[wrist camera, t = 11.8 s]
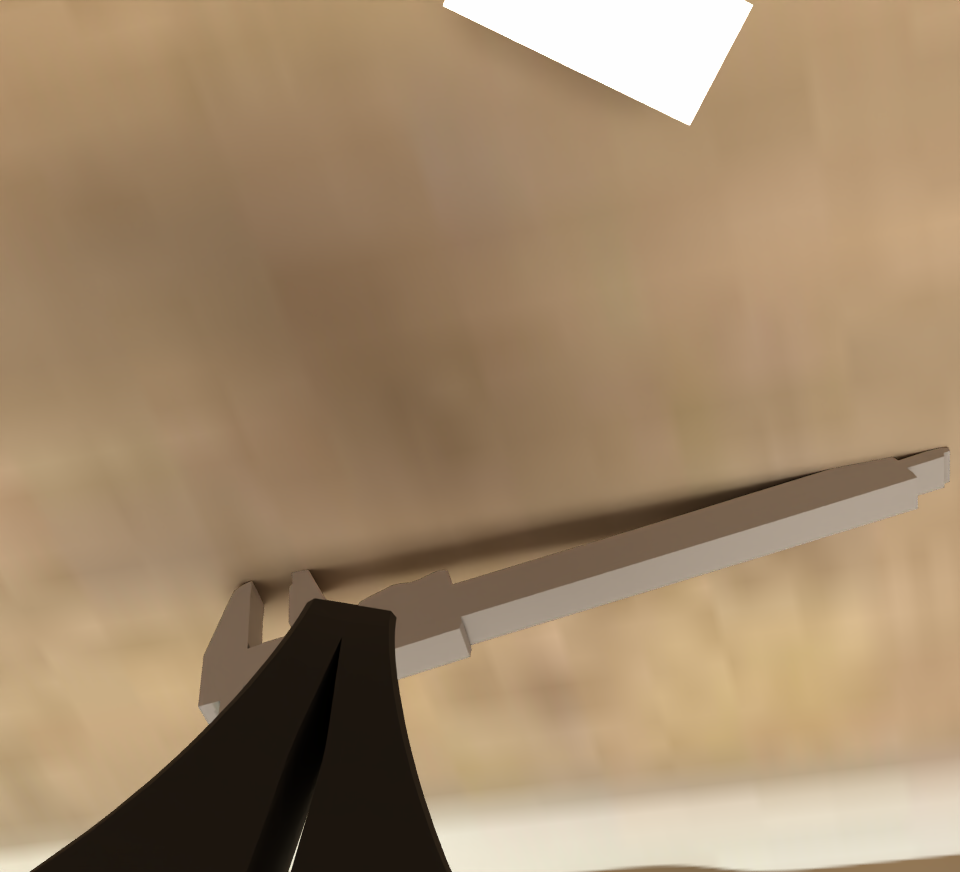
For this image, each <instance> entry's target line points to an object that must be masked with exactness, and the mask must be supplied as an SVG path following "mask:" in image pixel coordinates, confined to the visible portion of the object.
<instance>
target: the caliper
mask: <svg viewBox="0 0 960 872" xmlns="http://www.w3.org/2000/svg"><path fill="white" fill-rule="evenodd" d="M947 482H950V450H949V448H937V449H933V450H929V451H926V452H923V453H920V454H917V455H914V456H910V457H907V458H904V459H901V460H897V459H895V458H894V457H890V458H884V459H879V460H874V461H869V462H864V463H858V464H853V465H848V466H843V467H838V468H832V469H829V470H825V471H822V472H819V473H816V474H812V475H809V476H806V477H803V478H799V479H796V480H793V481H790V482H787V483H783V484H780V485H777V486H774V487H770V488H767V489H764V490H761V491H757V492H754V493H751V494H748V495H744V496H741V497H738V498H735V499H732V500H728V501H725V502H722V503H719V504H715V505H712V506H709V507H706V508H702V509H699V510H696V511H693V512H689V513H686V514H683V515H680V516H677V517H673V518H670V519H667V520H664V521H660V522H657V523H654V524H651V525H647V526H644V527H641V528H637V529H634V530H631V531H627V532H624V533H621V534H618V535H614V536H611V537H608V538H604V539H601V540H598V541H594V542H591V543H588V544H585V545H581V546H578V547H575V548H571V549H568V550H565V551H561V552H558V553H555V554H552V555H548V556H545V557H542V558H538V559H535V560H532V561H528V562H525V563H522V564H518V565H515V566H512V567H509V568H505V569H502V570H499V571H495V572H492V573H489V574H485V575H482V576H479V577H476V578H472V579H469V580H466V581H462V582H459V583H456V584H452V581H451V579H450V576H449V573H448V571H447V570H439V571H436V572H434V573H431V574H429V575H427V576H425V577H423V578H421V579H419V580H416V581H413V582H410V583H400V584H395V585H391V586H390V587H388V588H386V589H384V590H382V591H380V592H378V593H376V594H374V595H372V596H370V597H368V598H366V599H364V600H362V601H360V603H359V606H365V607H371V608H377V609H383V610H389V611H392V613H393V614H394V615H395V616H396V617H397V619H396V626H395V656H396V668H397V678H398V680H399V679H402V678H405V677H408V676H411V675H414V674H418V673H421V672H424V671H427V670H430V669H433V668H437V667H440V666H443V665H446V664H449V663H452V662H456V661H459V660H462V659H465V658H468V657H470V654H471V650H472V649H471V645H473V644H476V643H480V642H483V641H486V640H489V639H493V638H496V637H499V636H503V635H506V634H509V633H512V632H516V631H519V630H522V629H526V628H529V627H532V626H536V625H539V624H542V623H545V622H549V621H552V620H555V619H559V618H562V617H565V616H568V615H572V614H575V613H578V612H582V611H585V610H588V609H591V608H595V607H598V606H601V605H605V604H608V603H611V602H614V601H618V600H621V599H624V598H628V597H631V596H634V595H637V594H641V593H644V592H647V591H651V590H654V589H657V588H660V587H664V586H667V585H670V584H674V583H677V582H680V581H683V580H687V579H690V578H693V577H697V576H700V575H703V574H707V573H710V572H713V571H716V570H720V569H723V568H726V567H730V566H733V565H736V564H739V563H743V562H746V561H749V560H753V559H756V558H759V557H762V556H766V555H769V554H772V553H775V552H779V551H782V550H785V549H788V548H792V547H795V546H798V545H801V544H805V543H808V542H811V541H814V540H818V539H821V538H824V537H827V536H831V535H834V534H837V533H840V532H844V531H847V530H850V529H853V528H857V527H860V526H863V525H866V524H870V523H873V522H876V521H879V520H882V519H886V518H889V517H892V516H895V515H899V514H902V513H905V512H908V511H912V510H915V509H918V495H921V494H925V493H928V492H931V491H934V490H937V489H940V488H944V484H945V483H947ZM314 598H317V599H323V600H326V599H325V597H324V595H323V594H322V592H321V590H320V589H319V587H318V585H317V584H316V582H315V580H314V579H313V577H312V575H311V573H310V572H309V570H303V571H298V572H292V584H291V585H290V587H289V624H290V626H291V627H292V625H293V624H294V622H295V621H296V619H297V618H298V616H299V615H300V613H301V612H302V610H303V608H304V607H305V605H306V603H307V602H309V601H310V600H312V599H314ZM263 613H264V604H263V602H262V600H261V598H260V596H259V594H258V592H257V590H256V588H255V586H254V584H253V582H252V581H250V582H248V583H246V584H243V585H242V586H240V587H239V588H238V589H236V590H235V591H234V593H233V594H232V596H231V598H230V600H229V602H228V604H227V606H226V608H225V610H224V613H223V615H222V617H221V619H220V621H219V623H218V626H217V628H216V630H215V632H214V634H213V637H212V639H211V641H210V643H209V645H208V647H207V650H206V652H205V654H204V658H203V667H202V676H201V685H200V694H199V704H198V707H199V709H200V710H201V712H202V714H203V716H204V717H205V719H206V721H207V722H208V724H210V723H211V722H212V721H213V720H214V719H215V718H216V717H217V716H218V715H219V714H220V712H221V711H222V710H223V709H224V708H225V707H226V706H227V705H228V704H229V703H230V702H231V701H232V700H233V699H234V698H235V697H236V695H237V694H238V693H239V692H240V691H241V690H242V689H243V688H244V686H245V685H246V684H247V683H248V682H249V680H250V679H251V678H252V677H253V676H254V674H255V673H256V672H257V671H258V670H259V668H260V667H261V666H262V665H263V664H264V662H265V661H266V660H267V659H268V658H269V656H270V655H271V654H272V653H273V651H274V650H275V649H276V647H277V646H278V645H279V643H280V642H281V641H282V639H283V638H284V637H285V636H284V637H281V638H278V639H274V640H271V641H268V642H264V643H262V628H263Z"/></svg>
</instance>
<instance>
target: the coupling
mask: <svg viewBox="0 0 960 872" xmlns="http://www.w3.org/2000/svg"><path fill="white" fill-rule="evenodd" d="M443 6H444V7H446V8H448V9H450V10H452V11H454V12H456V13H458V14H460V15H463V16H465V17H467V18H469V19H471V20H473V21H475V22H477V23H479V24H481V25H483V26H485V27H487V28H489V29H491V30H494V31H496V32H498V33H500V34H502V35H504V36H506V37H508V38H510V39H512V40H514V41H516V42H518V43H520V44H522V45H525V46H527V47H529V48H531V49H533V50H535V51H537V52H539V53H541V54H543V55H545V56H547V57H549V58H551V59H553V60H556V61H558V62H560V63H562V64H564V65H566V66H568V67H570V68H572V69H574V70H576V71H578V72H580V73H582V74H584V75H587V76H589V77H591V78H593V79H595V80H597V81H599V82H601V83H603V84H605V85H607V86H609V87H611V88H613V89H615V90H618V91H620V92H622V93H624V94H626V95H628V96H630V97H632V98H634V99H636V100H638V101H640V102H642V103H644V104H646V105H649V106H651V107H653V108H655V109H657V110H659V111H661V112H663V113H665V114H667V115H669V116H671V117H673V118H675V119H677V120H680V121H682V122H684V123H686V124H688V125H690V124H691V122H692V120H693V118H694V116H695V114H696V112H697V110H698V109H699V107H700V105H701V103H702V101H703V99H704V97H705V95H706V93H707V91H708V90H709V88H710V86H711V84H712V82H713V80H714V78H715V76H716V74H717V72H718V71H719V69H720V67H721V65H722V63H723V61H724V59H725V57H726V55H727V54H728V52H729V50H730V48H731V46H732V44H733V42H734V40H735V38H736V36H737V35H738V33H739V31H740V29H741V27H742V25H743V23H744V21H745V19H746V17H747V16H748V14H749V12H750V10H751V8H752V6H753V5H752V4H750V3H748V2H746V1H744V0H445V2H444V4H443Z"/></svg>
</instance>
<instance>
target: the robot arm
mask: <svg viewBox="0 0 960 872" xmlns="http://www.w3.org/2000/svg"><path fill="white" fill-rule="evenodd" d="M396 619H397V617H396V616H395V615H394V614H393V613H392V611H389V610H383V609H377V608H371V607H365V606H359V605H353V604H347V603H341V602H335V601H329V600H323V599H317V598H314V599H312V600H310V601H309V602H307V603H306V605H305V607H304V608H303V610H302V612H301V613H300V615H299V616H298V618H297V619H296V621H295V622H294V624H293V625H292V627H291V628H290V630H289V631H288V633H287V634H286V635H285V637H284V638H283V639H282V641H281V642H280V643H279V645H278V646H277V647H276V649H275V650H274V651H273V653H272V654H271V655H270V656H269V658H268V659H267V660H266V661H265V662H264V664H263V665H262V666H261V667H260V668H259V670H258V671H257V672H256V673H255V674H254V676H253V677H252V678H251V679H250V680H249V682H248V683H247V684H246V685H245V686H244V688H243V689H242V690H241V691H240V692H239V693H238V694H237V695H236V697H235V698H234V699H233V700H232V701H231V702H230V703H229V704H228V705H227V706H226V707H225V708H224V709H223V710H222V711H221V712H220V714H219V715H218V716H217V717H216V718H215V719H214V720H213V721H212V722H211V723H210V724H209V725H208V726H207V727H206V728H205V729H204V730H203V731H202V732H201V733H200V734H199V735H198V736H197V737H196V738H195V739H194V740H193V741H192V742H191V743H190V744H189V745H188V746H187V747H186V748H185V749H184V750H183V751H182V752H181V753H180V754H179V755H178V756H177V757H175V758H174V759H173V760H172V761H171V762H170V763H169V764H168V765H167V766H166V767H164V768H163V769H162V770H161V771H160V772H159V773H158V774H157V775H156V776H154V777H153V778H152V779H151V780H150V781H149V782H147V783H146V784H145V785H144V786H143V787H141V788H140V789H139V790H138V791H137V792H135V793H134V794H133V795H132V796H131V797H129V798H128V799H127V800H126V801H125V802H123V803H122V804H121V805H120V806H118V807H117V808H116V809H115V810H114V811H112V812H111V813H110V814H109V815H107V816H106V817H105V818H103V819H102V820H101V821H100V822H98V823H97V824H96V825H94V826H93V827H92V828H90V829H89V830H88V831H86V832H85V833H84V834H82V835H81V836H79V837H78V838H77V839H75V840H74V841H72V842H71V843H70V844H68V845H67V846H65V847H64V848H62V849H61V850H60V851H58V852H57V853H55V854H54V855H53V856H51V857H50V858H48V859H47V860H46V861H44V862H43V863H41V864H40V865H39V866H37V867H36V868H34V869H33V870H31V871H30V872H288V871H289V868H290V865H291V862H292V859H293V856H294V853H295V850H296V847H297V844H298V841H299V838H300V835H301V832H302V829H303V826H304V829H303V832H302V836H301V839H300V842H299V846H298V849H297V853H296V856H295V860H294V863H293V866H292V870H291V872H452V871H451V869H450V867H449V865H448V862H447V860H446V857H445V855H444V852H443V849H442V847H441V844H440V841H439V839H438V836H437V833H436V831H435V828H434V825H433V822H432V819H431V816H430V813H429V810H428V807H427V804H426V801H425V798H424V795H423V791H422V788H421V785H420V781H419V778H418V774H417V771H416V767H415V763H414V759H413V755H412V751H411V747H410V743H409V739H408V734H407V730H406V725H405V720H404V714H403V709H402V703H401V698H400V692H399V685H398V678H397V668H396V656H395V626H396ZM307 814H308V815H307ZM306 817H307V818H306ZM305 820H306V822H305ZM304 823H305V825H304Z"/></svg>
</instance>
